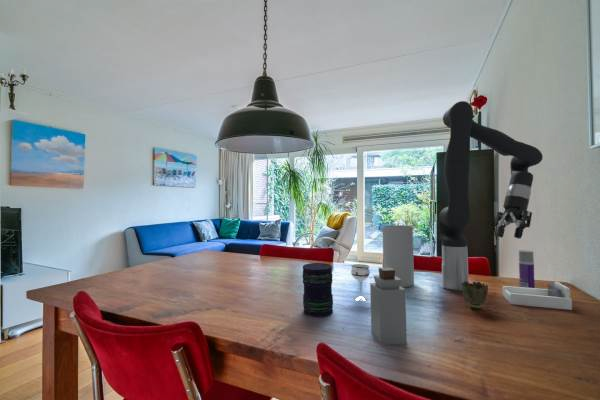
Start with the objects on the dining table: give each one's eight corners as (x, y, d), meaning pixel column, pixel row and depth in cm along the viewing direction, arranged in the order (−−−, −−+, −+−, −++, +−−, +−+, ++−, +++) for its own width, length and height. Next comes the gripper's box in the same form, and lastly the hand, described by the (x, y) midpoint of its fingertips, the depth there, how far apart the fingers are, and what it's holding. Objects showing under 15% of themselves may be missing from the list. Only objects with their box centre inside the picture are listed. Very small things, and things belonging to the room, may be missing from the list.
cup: (485, 305, 95) (484, 281, 95) (492, 313, 88) (491, 287, 88) (460, 303, 97) (459, 280, 97) (465, 310, 90) (464, 286, 90)
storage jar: (312, 320, 86) (311, 270, 86) (297, 309, 94) (297, 265, 94) (339, 313, 90) (338, 267, 90) (323, 304, 99) (322, 261, 99)
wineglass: (373, 298, 104) (372, 265, 104) (364, 303, 99) (363, 269, 99) (357, 294, 109) (357, 263, 109) (348, 299, 104) (347, 266, 104)
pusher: (557, 304, 92) (557, 289, 92) (548, 297, 99) (547, 283, 99) (561, 305, 92) (561, 289, 92) (551, 298, 98) (551, 283, 98)
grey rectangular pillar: (416, 281, 124) (415, 225, 125) (410, 289, 114) (409, 227, 114) (388, 278, 131) (386, 224, 131) (380, 285, 120) (378, 227, 121)
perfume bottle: (371, 332, 76) (369, 266, 77) (395, 331, 77) (393, 265, 77) (380, 345, 70) (378, 272, 70) (406, 343, 70) (404, 271, 71)
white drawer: (511, 304, 95) (510, 284, 96) (502, 295, 105) (502, 277, 105) (572, 309, 89) (571, 289, 90) (557, 299, 99) (556, 281, 99)
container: (537, 290, 109) (536, 252, 109) (523, 290, 110) (522, 252, 110) (530, 287, 114) (529, 250, 114) (517, 286, 114) (515, 250, 115)
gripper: (494, 196, 117) (485, 234, 115) (523, 192, 103) (514, 235, 101) (511, 202, 117) (502, 239, 116) (542, 198, 103) (533, 241, 101)
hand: (508, 237), depth 108 cm, fingers open, 8 cm apart
